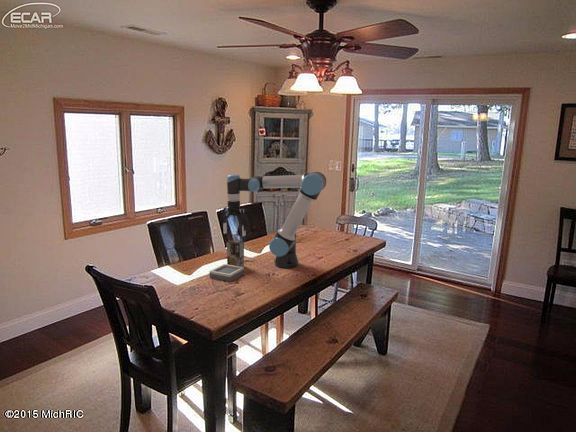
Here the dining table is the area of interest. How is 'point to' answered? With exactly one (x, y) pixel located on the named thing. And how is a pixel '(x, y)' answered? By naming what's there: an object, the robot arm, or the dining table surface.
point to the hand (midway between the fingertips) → (234, 234)
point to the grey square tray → (226, 272)
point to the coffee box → (235, 253)
